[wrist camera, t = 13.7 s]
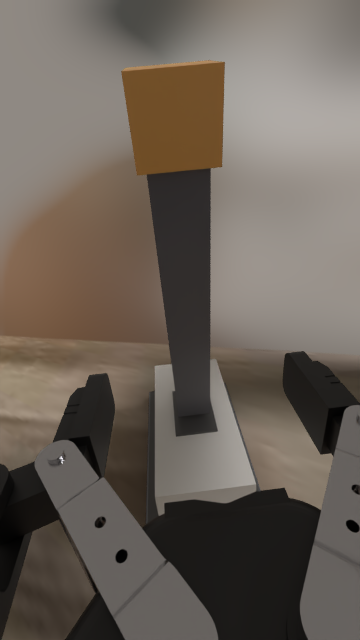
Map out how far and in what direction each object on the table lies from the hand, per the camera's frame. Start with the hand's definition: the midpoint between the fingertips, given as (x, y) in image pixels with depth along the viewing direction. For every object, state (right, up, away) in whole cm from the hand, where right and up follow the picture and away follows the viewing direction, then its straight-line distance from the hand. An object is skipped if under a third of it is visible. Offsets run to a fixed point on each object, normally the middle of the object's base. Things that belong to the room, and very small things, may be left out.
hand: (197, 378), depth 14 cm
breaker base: (+1, -10, +14) cm, 17 cm away
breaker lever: (0, -5, +12) cm, 12 cm away
